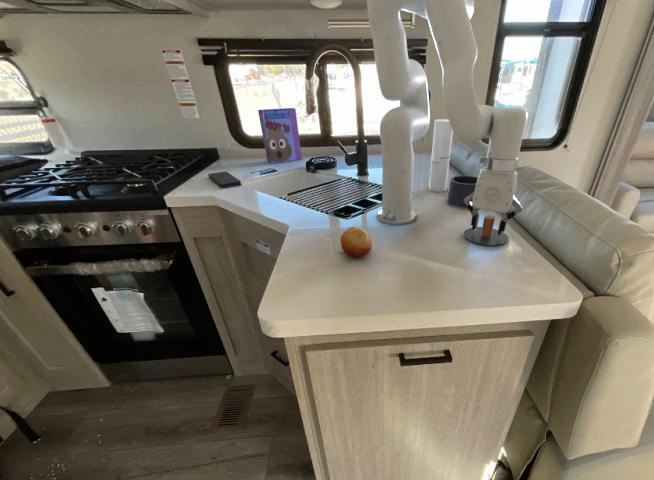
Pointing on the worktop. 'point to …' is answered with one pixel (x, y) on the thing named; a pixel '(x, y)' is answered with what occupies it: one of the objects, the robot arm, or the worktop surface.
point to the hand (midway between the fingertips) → (487, 230)
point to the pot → (461, 189)
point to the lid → (486, 234)
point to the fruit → (356, 242)
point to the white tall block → (440, 155)
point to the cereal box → (280, 135)
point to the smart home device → (224, 179)
